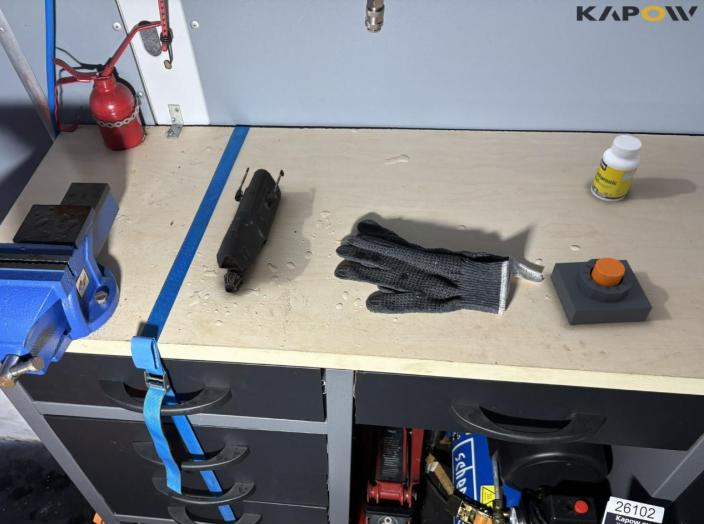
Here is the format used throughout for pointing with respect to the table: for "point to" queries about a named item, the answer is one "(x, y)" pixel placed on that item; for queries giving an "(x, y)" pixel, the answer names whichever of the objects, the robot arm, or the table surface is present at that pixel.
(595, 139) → the table surface
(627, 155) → the supplement bottle
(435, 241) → the table surface
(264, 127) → the table surface
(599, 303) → the button housing
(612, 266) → the orange button cap
